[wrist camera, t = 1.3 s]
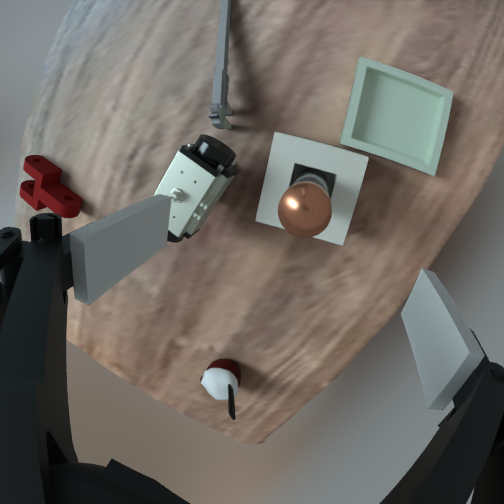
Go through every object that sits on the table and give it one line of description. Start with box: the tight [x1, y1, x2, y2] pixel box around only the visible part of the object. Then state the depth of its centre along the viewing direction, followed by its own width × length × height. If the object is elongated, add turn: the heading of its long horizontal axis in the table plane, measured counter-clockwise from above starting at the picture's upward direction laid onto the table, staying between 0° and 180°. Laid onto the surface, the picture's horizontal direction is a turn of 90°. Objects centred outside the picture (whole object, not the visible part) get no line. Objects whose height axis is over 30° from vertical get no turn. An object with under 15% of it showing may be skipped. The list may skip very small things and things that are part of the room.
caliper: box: [208, 0, 233, 129], centre depth 30 cm, size 20×1×6 cm, turn 2°
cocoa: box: [200, 359, 241, 420], centre depth 46 cm, size 10×6×12 cm, turn 91°
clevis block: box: [255, 132, 369, 246], centre depth 34 cm, size 10×10×6 cm
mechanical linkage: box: [20, 155, 82, 218], centre depth 44 cm, size 16×7×5 cm, turn 62°
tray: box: [340, 57, 454, 176], centre depth 30 cm, size 11×12×2 cm
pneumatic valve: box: [154, 134, 239, 242], centre depth 34 cm, size 6×12×12 cm, turn 145°
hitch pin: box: [278, 168, 332, 238], centre depth 29 cm, size 4×4×15 cm
